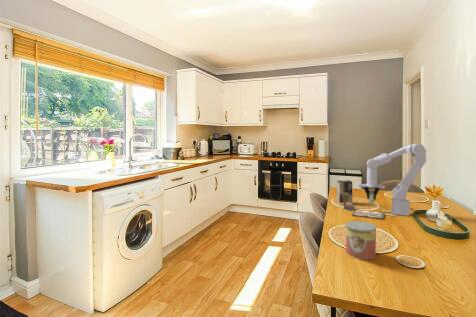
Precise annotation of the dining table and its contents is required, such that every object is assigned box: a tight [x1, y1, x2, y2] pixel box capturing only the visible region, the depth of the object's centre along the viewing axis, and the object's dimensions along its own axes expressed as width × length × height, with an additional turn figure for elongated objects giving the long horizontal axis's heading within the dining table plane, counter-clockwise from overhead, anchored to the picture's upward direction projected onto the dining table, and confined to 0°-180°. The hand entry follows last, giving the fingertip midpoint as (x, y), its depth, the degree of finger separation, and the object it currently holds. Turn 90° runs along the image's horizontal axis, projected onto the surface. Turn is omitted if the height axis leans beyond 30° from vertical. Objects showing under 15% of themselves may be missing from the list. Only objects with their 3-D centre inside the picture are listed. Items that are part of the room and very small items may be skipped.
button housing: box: [343, 204, 355, 211], centre depth 174 cm, size 6×6×2 cm
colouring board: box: [352, 209, 385, 221], centre depth 160 cm, size 16×12×1 cm
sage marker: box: [368, 189, 375, 205], centre depth 168 cm, size 3×3×8 cm
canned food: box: [345, 220, 377, 261], centre depth 109 cm, size 11×11×12 cm
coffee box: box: [336, 179, 353, 204], centre depth 189 cm, size 9×6×16 cm
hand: (371, 199), depth 168 cm, fingers closed on sage marker, 3 cm apart
